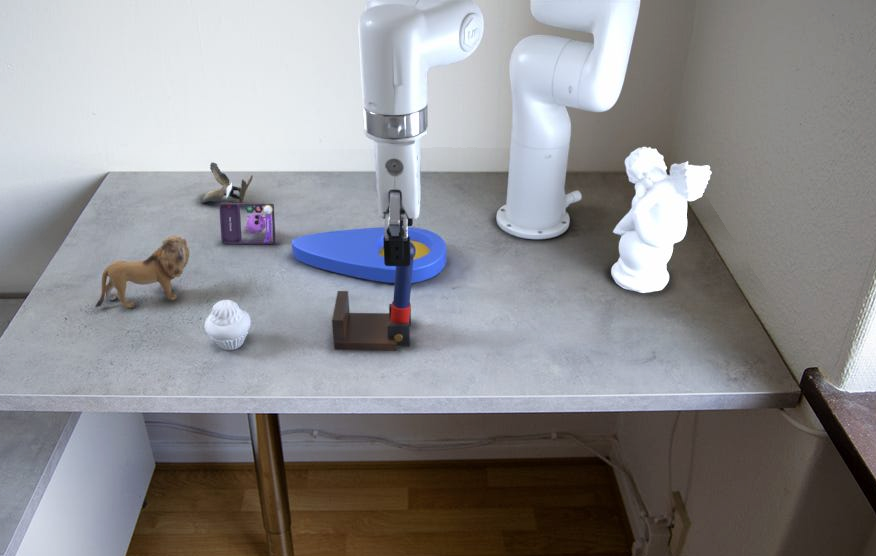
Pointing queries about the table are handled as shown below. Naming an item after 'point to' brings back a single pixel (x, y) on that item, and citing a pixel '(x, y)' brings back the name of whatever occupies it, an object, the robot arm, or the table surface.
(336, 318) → the brown lever base
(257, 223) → the purple toy package
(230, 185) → the eagle figurine
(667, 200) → the cherub figurine
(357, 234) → the location marker
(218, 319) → the muffin
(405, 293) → the blue lever handle
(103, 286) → the lion figurine
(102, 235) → the table surface
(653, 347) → the table surface
